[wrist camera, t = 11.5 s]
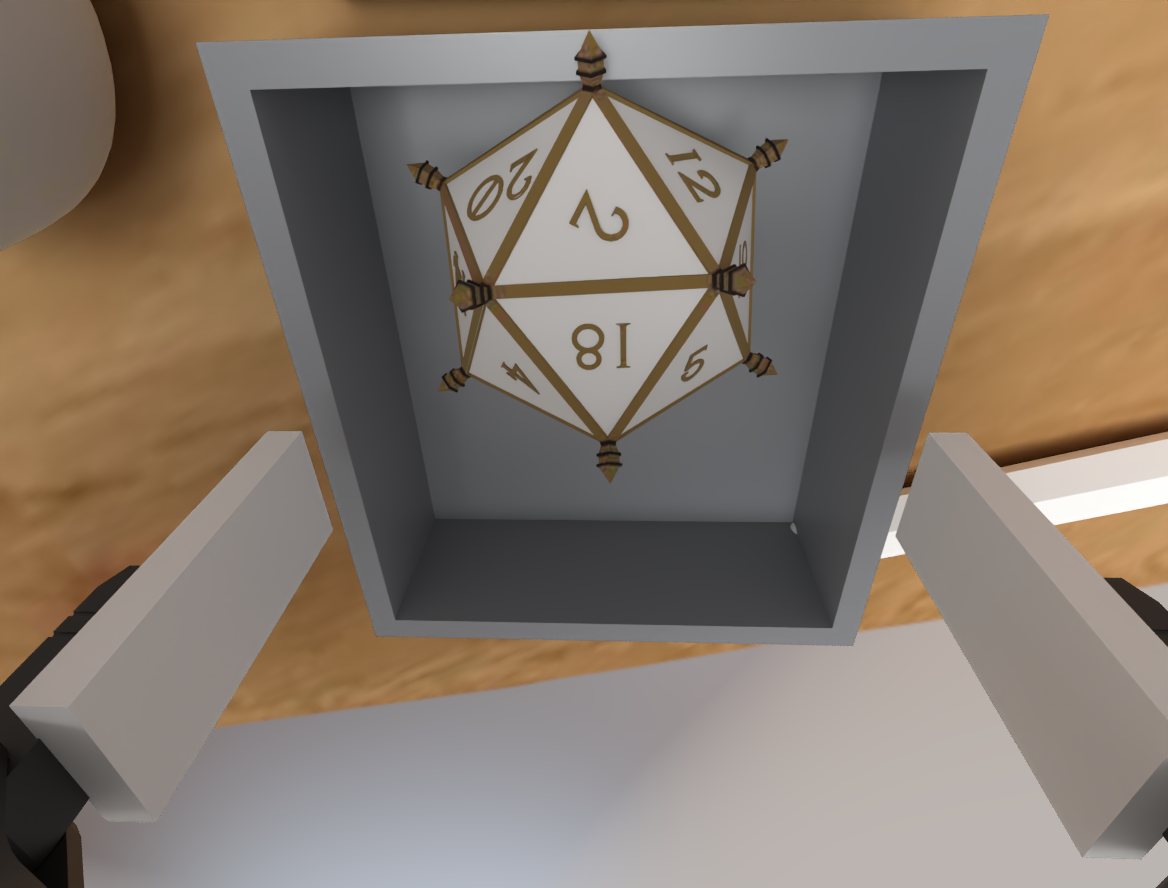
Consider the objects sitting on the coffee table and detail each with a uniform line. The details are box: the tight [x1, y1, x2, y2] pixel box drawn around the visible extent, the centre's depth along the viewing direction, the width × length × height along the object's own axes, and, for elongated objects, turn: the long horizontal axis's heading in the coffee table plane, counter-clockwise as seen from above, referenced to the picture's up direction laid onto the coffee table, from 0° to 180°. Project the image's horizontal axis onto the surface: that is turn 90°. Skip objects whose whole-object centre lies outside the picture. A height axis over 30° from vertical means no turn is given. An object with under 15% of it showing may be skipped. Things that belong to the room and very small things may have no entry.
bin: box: [196, 14, 1050, 646], centre depth 18 cm, size 16×17×6 cm
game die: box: [406, 30, 789, 483], centre depth 14 cm, size 9×8×10 cm
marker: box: [790, 432, 1168, 559], centre depth 22 cm, size 3×2×16 cm
